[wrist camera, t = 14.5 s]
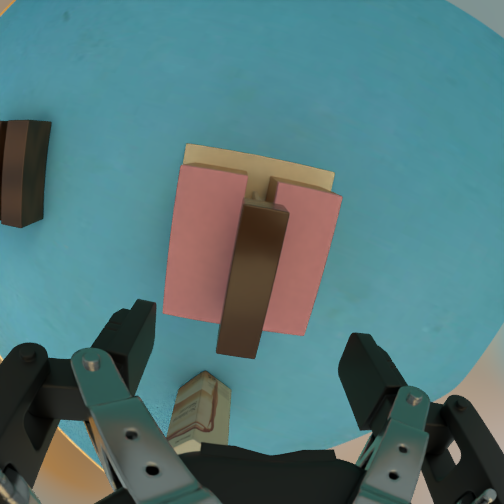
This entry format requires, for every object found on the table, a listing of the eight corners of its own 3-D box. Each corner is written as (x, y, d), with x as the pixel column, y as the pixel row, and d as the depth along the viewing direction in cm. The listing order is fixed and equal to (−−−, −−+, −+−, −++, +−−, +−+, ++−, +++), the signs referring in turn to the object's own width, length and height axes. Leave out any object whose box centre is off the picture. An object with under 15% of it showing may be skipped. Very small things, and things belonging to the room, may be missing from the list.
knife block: (6, 122, 23) (-17, 121, 19) (52, 121, 24) (29, 119, 20) (0, 211, 26) (-23, 219, 22) (43, 219, 27) (21, 228, 23)
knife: (242, 182, 26) (243, 203, 15) (270, 188, 26) (290, 212, 16) (224, 280, 29) (215, 354, 18) (250, 284, 29) (255, 359, 18)
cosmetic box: (204, 368, 32) (194, 437, 23) (232, 389, 34) (231, 458, 24) (174, 389, 33) (159, 455, 24) (202, 409, 34) (194, 474, 25)
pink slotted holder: (187, 143, 25) (169, 140, 19) (333, 172, 27) (361, 178, 20) (166, 291, 30) (149, 327, 23) (297, 313, 31) (310, 352, 24)
